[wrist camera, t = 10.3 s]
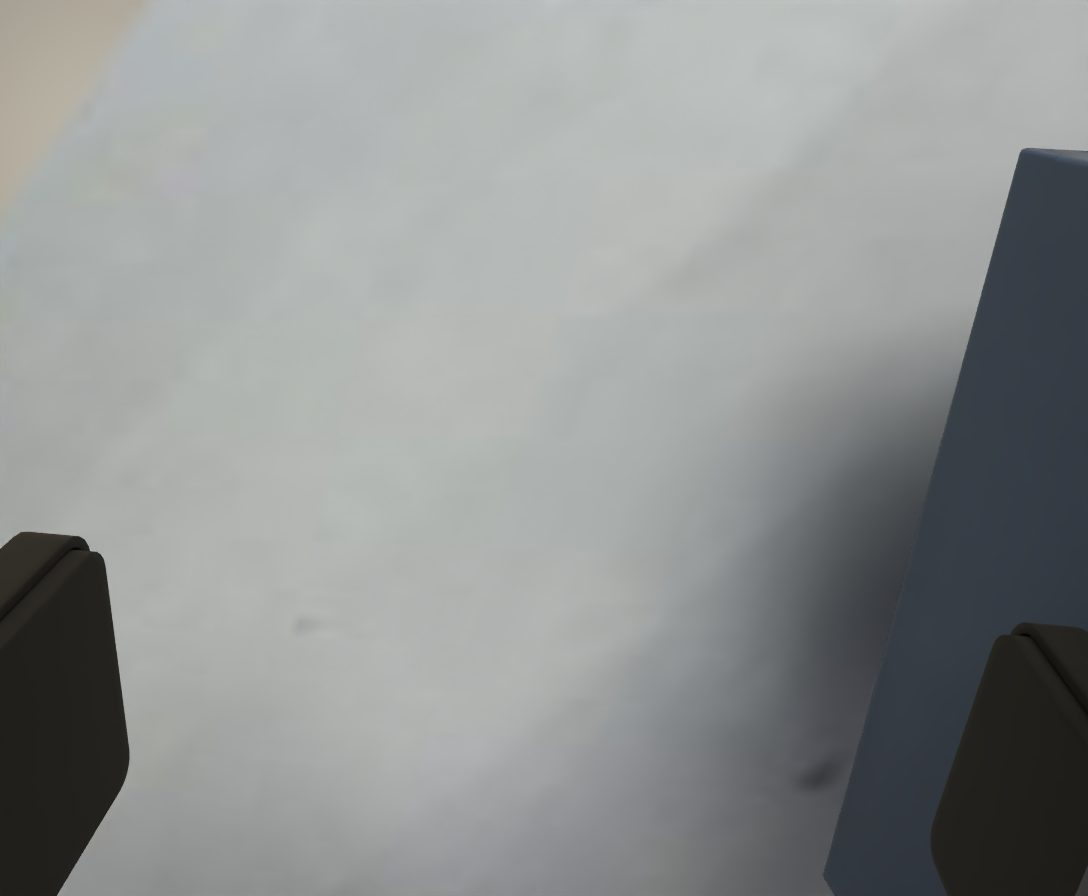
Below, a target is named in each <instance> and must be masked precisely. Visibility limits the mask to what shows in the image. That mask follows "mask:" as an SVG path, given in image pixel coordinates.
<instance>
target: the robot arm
mask: <svg viewBox="0 0 1088 896" xmlns="http://www.w3.org/2000/svg"><path fill="white" fill-rule="evenodd" d="M128 766H129V744H128V737H127V729H126V721H125V713H124V706H123V698H122V690H121V683H120V675H119V667H118V659H117V652H116V644H115V636H114V629H113V621H112V613H111V605H110V598H109V590H108V582H107V575H106V567H105V563H104V559H103V557H102V556H101V554H99V553H98V552H91V551H90V550H89V546H88V544H87V543H86V541H85V540H84V539H83V538H81V537H79V536H69V535H58V534H47V533H36V532H21V533H19V534H18V535H16V536H14V537H13V538H12V539H11V540H10V541H9V542H8V543H6V544H5V545H4V546H3V547H2V548H1V549H0V896H57V894H58V893H59V891H60V889H61V888H62V886H63V884H64V883H65V881H66V879H67V878H68V876H69V874H70V873H71V871H72V869H73V868H74V866H75V864H76V863H77V861H78V860H79V858H80V856H81V855H82V853H83V851H84V850H85V848H86V846H87V845H88V843H89V841H90V840H91V838H92V836H93V835H94V833H95V831H96V830H97V828H98V826H99V825H100V823H101V821H102V820H103V818H104V816H105V815H106V813H107V811H108V810H109V808H110V807H111V805H112V803H113V802H114V800H115V798H116V797H117V795H118V793H119V792H120V790H121V788H122V786H123V784H124V781H125V778H126V775H127V771H128ZM930 843H931V853H932V858H933V861H934V864H935V867H936V869H937V872H938V874H939V877H940V879H941V881H942V884H943V886H944V889H945V891H946V894H947V896H1075V895H1076V892H1077V890H1078V888H1079V885H1080V883H1081V881H1082V878H1083V876H1084V874H1085V871H1086V869H1087V867H1088V633H1087V632H1086V631H1085V630H1084V629H1082V628H1078V627H1072V626H1061V625H1050V624H1039V623H1028V622H1023V623H1020V624H1018V625H1017V626H1016V627H1015V628H1014V629H1013V630H1012V632H1011V634H1010V635H1005V634H1004V635H1001V636H999V637H998V638H997V639H996V640H995V642H994V644H993V646H992V649H991V652H990V655H989V658H988V661H987V664H986V667H985V670H984V673H983V676H982V679H981V682H980V684H979V687H978V690H977V693H976V696H975V699H974V702H973V705H972V708H971V711H970V714H969V717H968V720H967V723H966V726H965V729H964V732H963V735H962V738H961V741H960V744H959V747H958V750H957V753H956V756H955V759H954V761H953V764H952V767H951V770H950V773H949V776H948V779H947V782H946V785H945V788H944V791H943V794H942V797H941V800H940V803H939V806H938V809H937V812H936V815H935V818H934V821H933V824H932V828H931V837H930Z"/></svg>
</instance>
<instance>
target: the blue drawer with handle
mask: <svg viewBox="0 0 1088 896" xmlns="http://www.w3.org/2000/svg"><path fill="white" fill-rule="evenodd" d="M1023 622H1028V623H1039V624H1050V625H1061V626H1072V627H1078V628H1082V629H1084V630H1085V631H1086V632H1087V633H1088V151H1074V150H1055V149H1035V148H1026V149H1023V150H1021V152H1020V154H1019V158H1018V162H1017V165H1016V169H1015V173H1014V176H1013V180H1012V184H1011V187H1010V191H1009V195H1008V198H1007V202H1006V206H1005V209H1004V213H1003V217H1002V220H1001V224H1000V228H999V231H998V235H997V239H996V242H995V246H994V250H993V253H992V257H991V261H990V264H989V268H988V272H987V275H986V279H985V283H984V286H983V290H982V294H981V297H980V301H979V305H978V308H977V312H976V316H975V319H974V323H973V327H972V330H971V334H970V338H969V341H968V345H967V349H966V352H965V356H964V360H963V363H962V367H961V371H960V374H959V378H958V382H957V385H956V389H955V393H954V396H953V400H952V404H951V407H950V411H949V415H948V418H947V422H946V426H945V429H944V433H943V437H942V440H941V444H940V448H939V451H938V455H937V459H936V462H935V466H934V470H933V473H932V477H931V481H930V484H929V488H928V492H927V495H926V499H925V503H924V506H923V510H922V514H921V517H920V521H919V525H918V528H917V532H916V536H915V539H914V543H913V547H912V550H911V554H910V558H909V561H908V565H907V569H906V572H905V576H904V580H903V583H902V587H901V591H900V594H899V598H898V602H897V605H896V609H895V613H894V616H893V620H892V624H891V627H890V631H889V635H888V638H887V642H886V646H885V649H884V653H883V657H882V660H881V664H880V668H879V671H878V675H877V679H876V682H875V686H874V690H873V693H872V697H871V701H870V704H869V708H868V712H867V715H866V719H865V723H864V726H863V730H862V734H861V737H860V741H859V745H858V748H857V752H856V756H855V759H854V763H853V767H852V770H851V774H850V778H849V781H848V785H847V789H846V792H845V796H844V800H843V803H842V807H841V811H840V814H839V818H838V822H837V825H836V829H835V833H834V836H833V840H832V844H831V847H830V851H829V855H828V858H827V862H826V866H825V869H824V873H823V877H824V879H825V881H826V882H827V884H828V885H829V887H830V889H831V890H832V892H833V893H834V895H835V896H947V894H946V891H945V889H944V886H943V884H942V881H941V879H940V877H939V874H938V872H937V869H936V867H935V864H934V861H933V858H932V853H931V843H930V837H931V828H932V824H933V821H934V818H935V815H936V812H937V809H938V806H939V803H940V800H941V797H942V794H943V791H944V788H945V785H946V782H947V779H948V776H949V773H950V770H951V767H952V764H953V761H954V759H955V756H956V753H957V750H958V747H959V744H960V741H961V738H962V735H963V732H964V729H965V726H966V723H967V720H968V717H969V714H970V711H971V708H972V705H973V702H974V699H975V696H976V693H977V690H978V687H979V684H980V682H981V679H982V676H983V673H984V670H985V667H986V664H987V661H988V658H989V655H990V652H991V649H992V646H993V644H994V642H995V640H996V639H997V638H998V637H999V636H1001V635H1004V634H1005V635H1010V634H1011V632H1012V630H1013V629H1014V628H1015V627H1016V626H1017V625H1018V624H1020V623H1023ZM1075 896H1088V867H1087V869H1086V871H1085V874H1084V876H1083V878H1082V881H1081V883H1080V885H1079V888H1078V890H1077V892H1076V895H1075Z"/></svg>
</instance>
